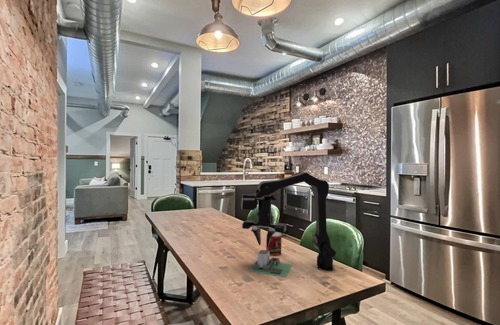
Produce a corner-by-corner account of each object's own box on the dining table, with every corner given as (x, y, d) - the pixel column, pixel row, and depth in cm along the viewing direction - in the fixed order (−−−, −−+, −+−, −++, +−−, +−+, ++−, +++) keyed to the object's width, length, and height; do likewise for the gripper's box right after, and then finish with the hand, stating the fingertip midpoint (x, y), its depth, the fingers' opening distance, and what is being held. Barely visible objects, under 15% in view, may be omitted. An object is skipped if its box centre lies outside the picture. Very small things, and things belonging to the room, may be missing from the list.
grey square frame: (273, 265, 126) (273, 260, 126) (268, 271, 118) (268, 267, 118) (258, 263, 128) (258, 258, 128) (252, 269, 121) (253, 264, 121)
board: (292, 266, 127) (292, 260, 127) (285, 279, 113) (285, 272, 113) (259, 261, 132) (259, 255, 132) (248, 273, 118) (248, 266, 118)
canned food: (269, 258, 137) (269, 236, 137) (263, 253, 145) (264, 232, 145) (283, 257, 139) (284, 235, 139) (277, 252, 147) (278, 231, 147)
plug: (269, 264, 125) (269, 250, 125) (265, 269, 119) (266, 254, 119) (260, 263, 126) (261, 249, 126) (256, 267, 121) (257, 253, 121)
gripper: (289, 208, 128) (288, 243, 128) (250, 205, 134) (249, 238, 134) (283, 213, 117) (283, 250, 117) (242, 209, 123) (241, 245, 123)
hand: (263, 245), depth 123 cm, fingers open, 3 cm apart
